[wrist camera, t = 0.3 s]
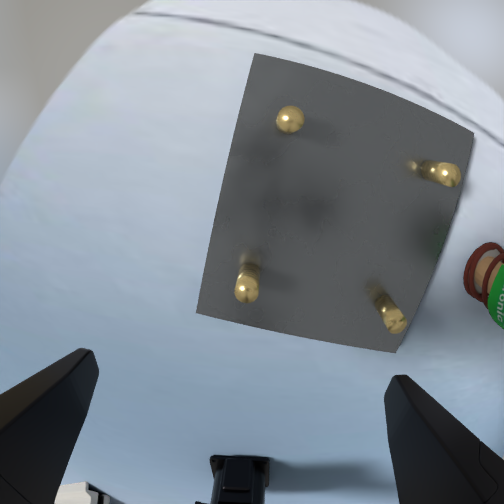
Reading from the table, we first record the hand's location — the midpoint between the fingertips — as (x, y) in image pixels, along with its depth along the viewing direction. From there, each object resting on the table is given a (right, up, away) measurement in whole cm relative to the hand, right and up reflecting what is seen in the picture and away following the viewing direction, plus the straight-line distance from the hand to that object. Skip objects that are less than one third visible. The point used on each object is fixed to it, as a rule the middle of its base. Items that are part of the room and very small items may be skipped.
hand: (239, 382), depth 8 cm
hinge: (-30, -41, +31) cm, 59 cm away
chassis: (+6, +6, +13) cm, 15 cm away
